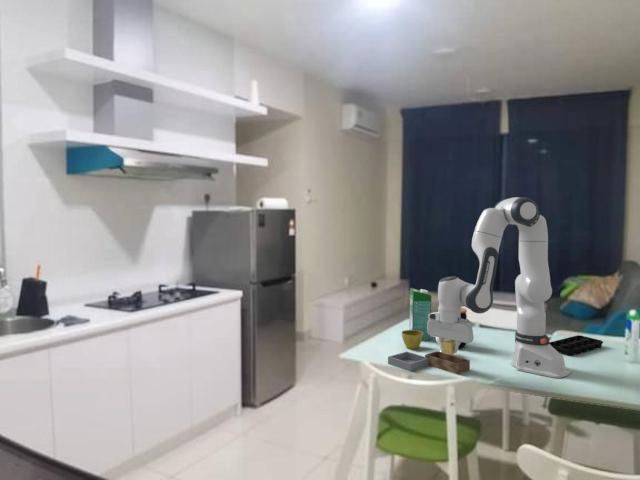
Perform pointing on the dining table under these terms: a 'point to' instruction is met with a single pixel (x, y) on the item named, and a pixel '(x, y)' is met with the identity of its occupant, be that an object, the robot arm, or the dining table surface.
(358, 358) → the dining table surface
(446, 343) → the block
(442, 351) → the light bulb
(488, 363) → the dining table surface
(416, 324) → the milk carton
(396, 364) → the tub
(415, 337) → the flower pot
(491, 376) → the dining table surface
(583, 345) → the egg carton
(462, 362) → the box
